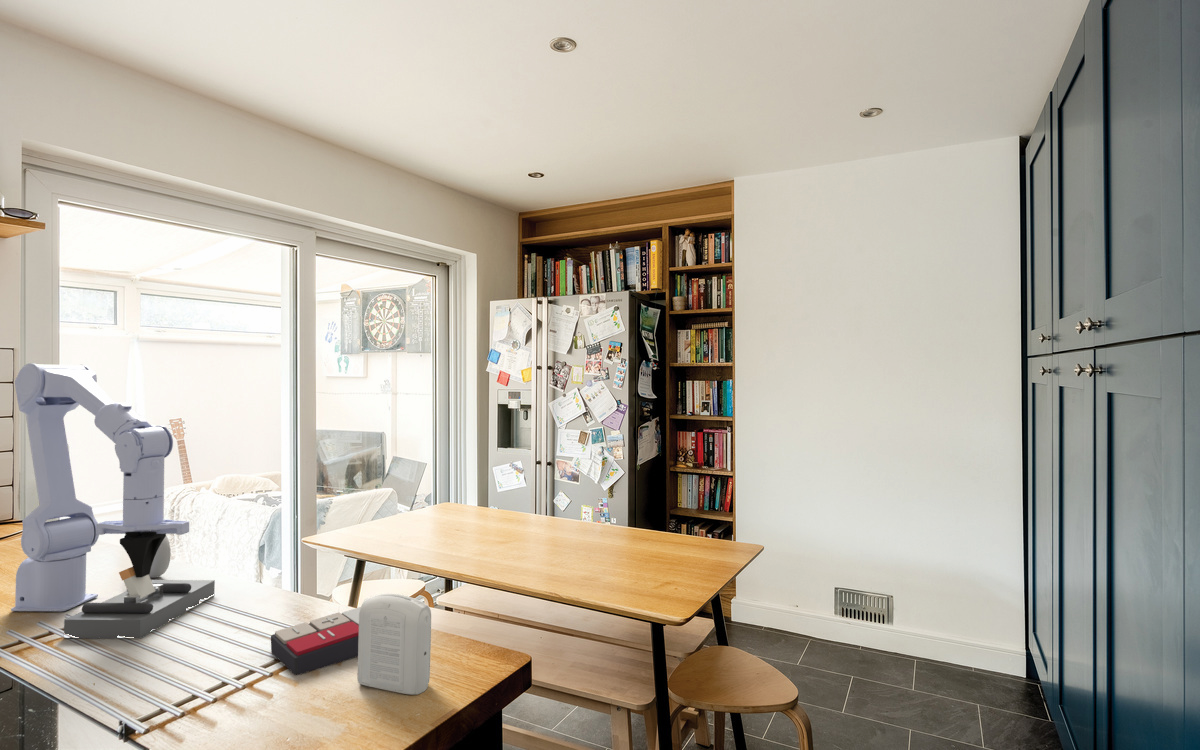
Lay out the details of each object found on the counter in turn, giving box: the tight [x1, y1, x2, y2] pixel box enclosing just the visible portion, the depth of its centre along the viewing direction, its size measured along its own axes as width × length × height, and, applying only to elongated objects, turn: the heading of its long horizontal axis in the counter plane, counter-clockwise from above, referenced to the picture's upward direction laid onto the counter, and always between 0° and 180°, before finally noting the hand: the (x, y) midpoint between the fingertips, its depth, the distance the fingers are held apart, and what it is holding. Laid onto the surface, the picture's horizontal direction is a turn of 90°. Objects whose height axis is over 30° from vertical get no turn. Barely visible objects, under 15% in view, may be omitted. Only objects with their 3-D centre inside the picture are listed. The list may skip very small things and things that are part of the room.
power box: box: [63, 579, 216, 640], centre depth 110 cm, size 12×20×5 cm, turn 1°
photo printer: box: [356, 593, 432, 696], centre depth 86 cm, size 10×4×12 cm, turn 72°
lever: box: [118, 566, 155, 602], centre depth 108 cm, size 2×4×6 cm, turn 1°
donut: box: [149, 535, 172, 579], centre depth 131 cm, size 10×4×10 cm, turn 55°
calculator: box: [270, 606, 361, 676], centre depth 98 cm, size 11×4×15 cm
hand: (142, 575), depth 108 cm, fingers closed
